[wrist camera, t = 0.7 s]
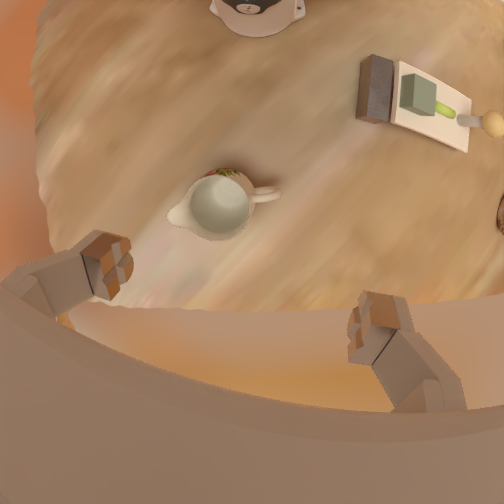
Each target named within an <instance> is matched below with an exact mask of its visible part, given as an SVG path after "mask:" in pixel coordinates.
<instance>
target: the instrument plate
mask: <svg viewBox="0 0 504 504" xmlns="http://www.w3.org/2000/svg"><path fill="white" fill-rule="evenodd" d="M390 123H393V124H396V125H399V126H402V127H404V128H407V129H410V130H412V131H415V132H418V133H420V134H423V135H425V136H428V137H430V138H432V139H435V140H437V141H439V142H442V143H444V144H446V145H448V146H450V147H453V148H455V149H457V150H459V151H461V152H464V153H467V148H468V140H469V131H470V127H472V128H479V129H484V130H485V131H486V133H487V134H488V135H489V136H491V137H493V138H501V137H502V136H503V135H504V118H503V117H502V115H501V114H500V113H498V112H496V111H493V110H490V111H487V112H486V113H485V114H484V115H483V116H473V115H471V100H470V99H469V98H467V97H466V96H464V95H463V94H461V93H460V92H458V91H457V90H455V89H453V88H452V87H450V86H448V85H447V84H445V83H443V82H441V81H440V80H438V79H436V78H434V77H432V76H430V75H429V74H427V73H425V72H423V71H421V70H419V69H417V68H415V67H413V66H411V65H409V64H406V63H404V62H402V61H400V60H399V61H396V62H395V75H394V90H393V101H392V111H391V120H390Z"/></svg>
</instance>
